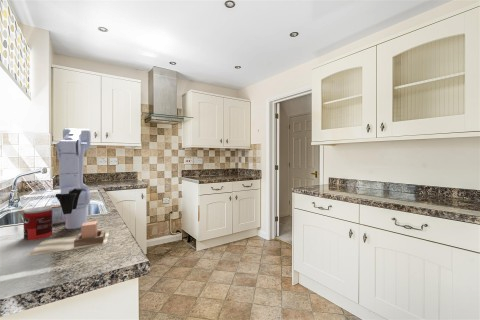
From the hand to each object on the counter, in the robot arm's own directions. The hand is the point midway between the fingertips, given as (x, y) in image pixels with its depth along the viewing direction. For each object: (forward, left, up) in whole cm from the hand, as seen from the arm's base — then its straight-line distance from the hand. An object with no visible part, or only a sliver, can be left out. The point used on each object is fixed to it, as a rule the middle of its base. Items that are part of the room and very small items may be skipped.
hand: (70, 211), depth 82 cm
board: (+6, +2, -10) cm, 12 cm away
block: (+7, +7, -9) cm, 13 cm away
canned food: (-7, -11, -11) cm, 17 cm away
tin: (-27, -11, -11) cm, 31 cm away
